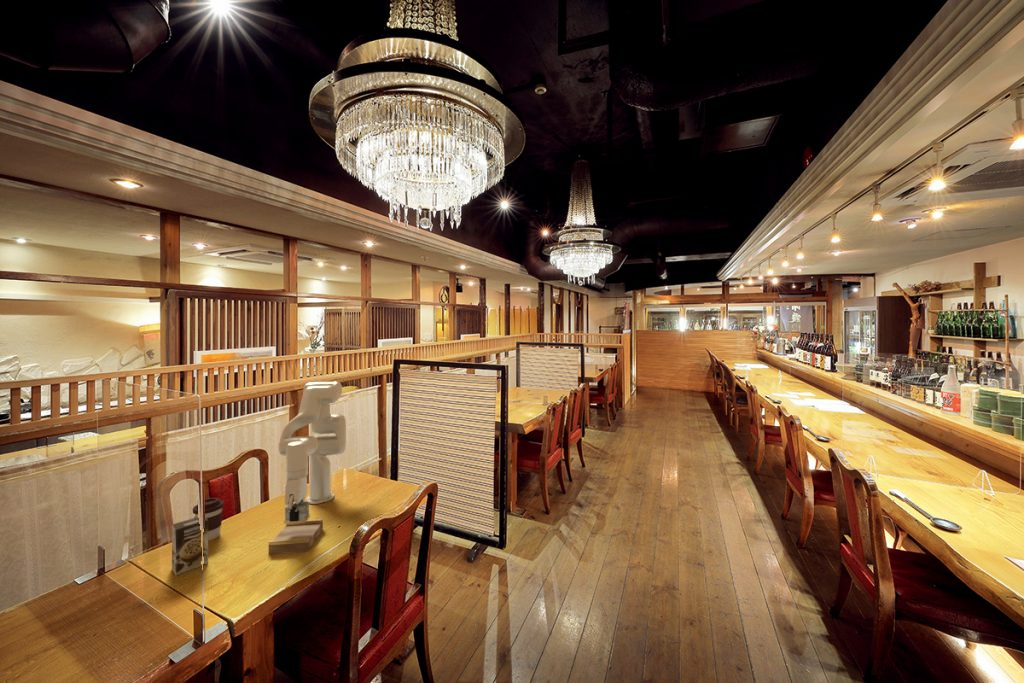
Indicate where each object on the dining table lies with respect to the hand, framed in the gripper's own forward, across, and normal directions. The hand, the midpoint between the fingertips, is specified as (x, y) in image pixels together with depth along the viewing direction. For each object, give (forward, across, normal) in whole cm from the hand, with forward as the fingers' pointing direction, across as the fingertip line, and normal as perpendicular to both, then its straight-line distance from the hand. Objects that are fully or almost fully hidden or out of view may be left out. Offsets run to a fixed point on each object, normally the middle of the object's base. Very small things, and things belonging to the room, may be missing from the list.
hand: (297, 517), depth 149 cm
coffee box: (+10, +12, -31) cm, 35 cm away
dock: (+10, 0, 0) cm, 10 cm away
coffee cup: (+10, -8, -37) cm, 39 cm away
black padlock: (+1, 0, 0) cm, 1 cm away
